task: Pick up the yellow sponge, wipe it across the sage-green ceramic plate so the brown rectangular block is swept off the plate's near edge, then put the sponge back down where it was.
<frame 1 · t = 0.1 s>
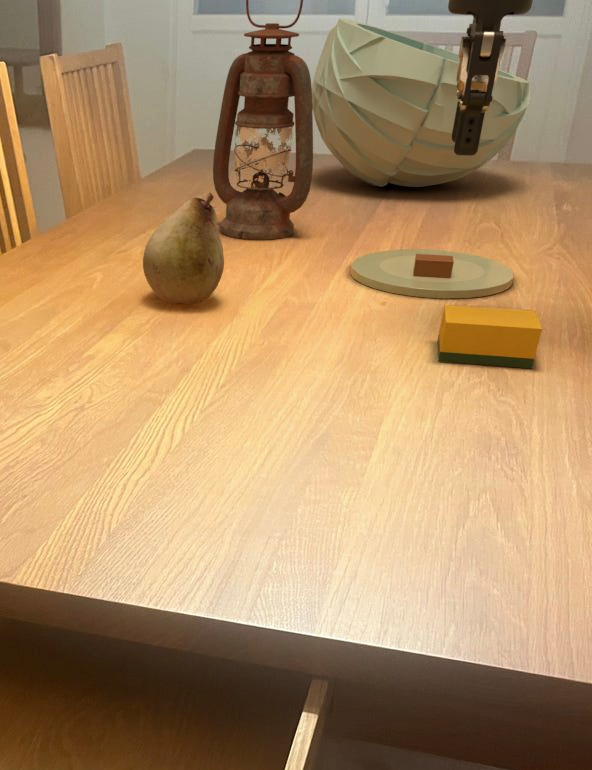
hand: (463, 148, 98), 18 cm above the table, tool pointing down, fingers open, 8 cm apart
sponge: (483, 355, 99), on the table
plate: (429, 276, 123), on the table
brown rectangular block: (431, 274, 120), point 1 cm above the table, touching plate
fruit: (181, 302, 115), on the table
bowl: (403, 186, 173), on the table
lantern: (256, 232, 144), on the table
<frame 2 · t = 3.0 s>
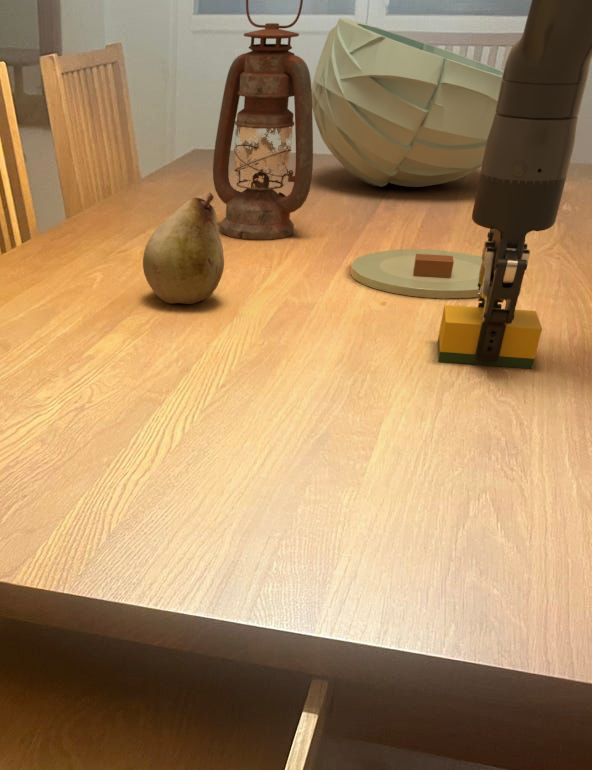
hand: (484, 349, 98), 1 cm above the table, tool pointing down, fingers closed on sponge, 6 cm apart
sponge: (483, 355, 99), on the table, touching gripper
everything else where it was.
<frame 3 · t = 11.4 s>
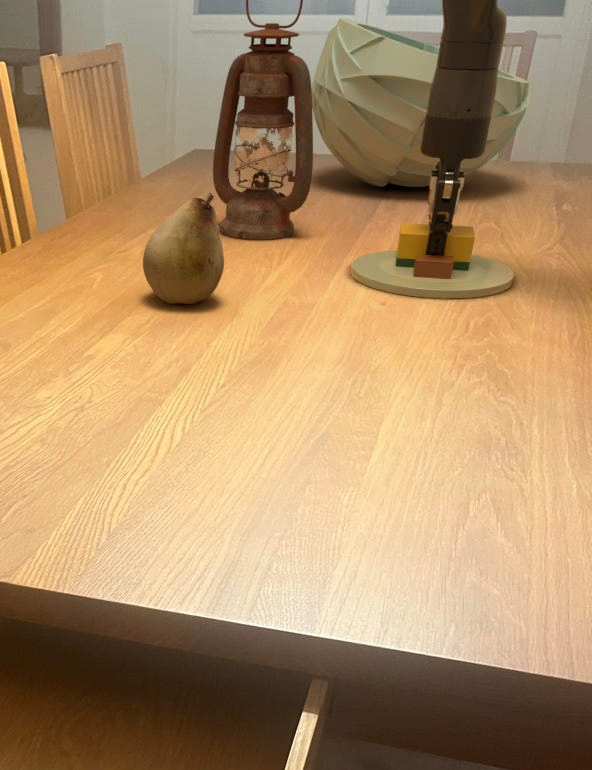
hand: (432, 257, 124), 2 cm above the table, tool pointing down, fingers closed on sponge, 6 cm apart
sponge: (431, 262, 125), point 1 cm above the table, touching gripper
brown rectangular block: (431, 274, 120), point 1 cm above the table, touching gripper, plate
everything else where it was.
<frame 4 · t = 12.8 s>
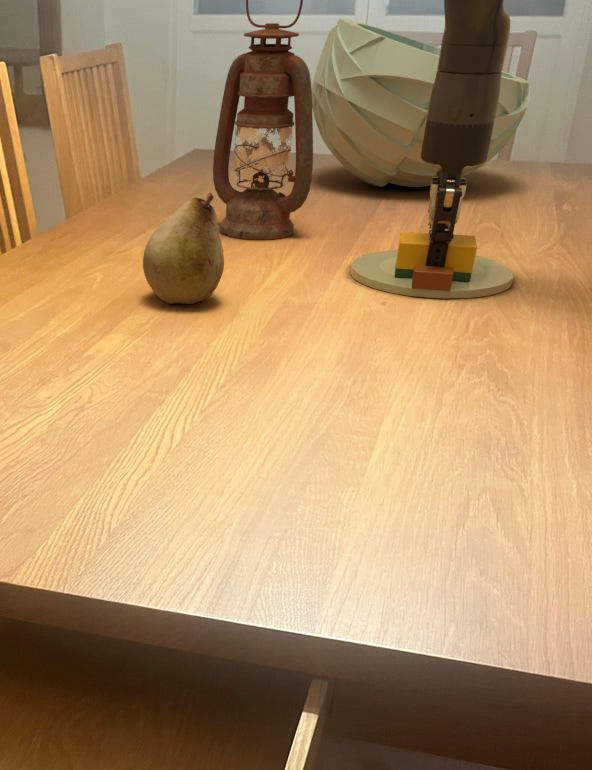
hand: (433, 267, 120), 2 cm above the table, tool pointing down, fingers closed on sponge, 6 cm apart
sponge: (431, 272, 120), point 1 cm above the table, touching gripper
brown rectangular block: (430, 286, 116), point 1 cm above the table, touching gripper
everything else where it was.
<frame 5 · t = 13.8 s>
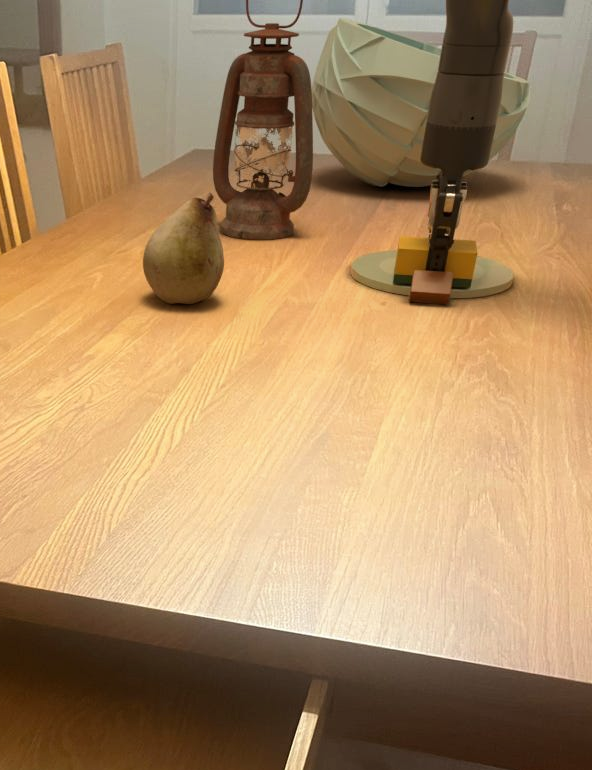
hand: (432, 273, 117), 2 cm above the table, tool pointing down, fingers closed on sponge, 6 cm apart
sponge: (431, 278, 118), point 1 cm above the table, touching gripper
brown rectangular block: (429, 292, 114), point 1 cm above the table, tilted 40°, touching gripper
everything else where it was.
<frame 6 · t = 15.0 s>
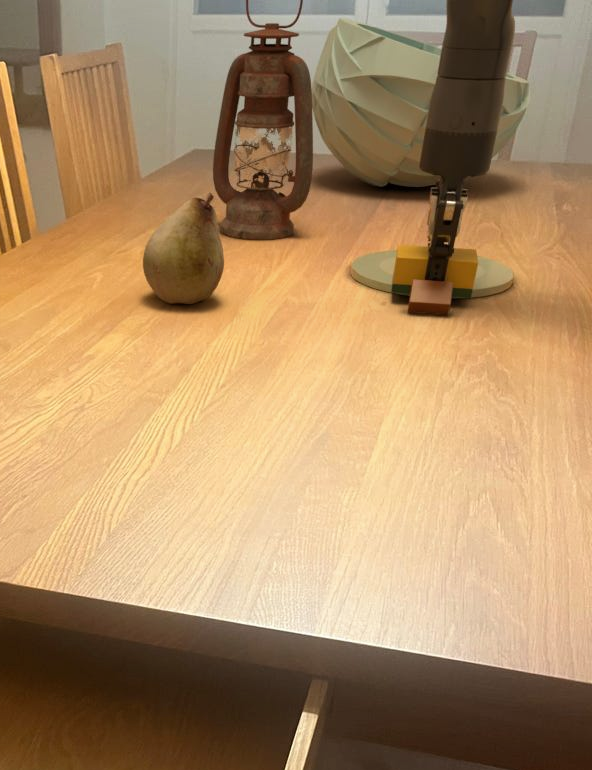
hand: (432, 282, 114), 2 cm above the table, tool pointing down, fingers closed on sponge, 6 cm apart
sponge: (430, 288, 114), point 1 cm above the table, touching gripper
brown rectangular block: (429, 302, 111), point 1 cm above the table, tilted 40°, touching gripper
everything else where it was.
when the fingers open (1 cm above the table, at t = 21.2 s): sponge stays where it is, on the table.
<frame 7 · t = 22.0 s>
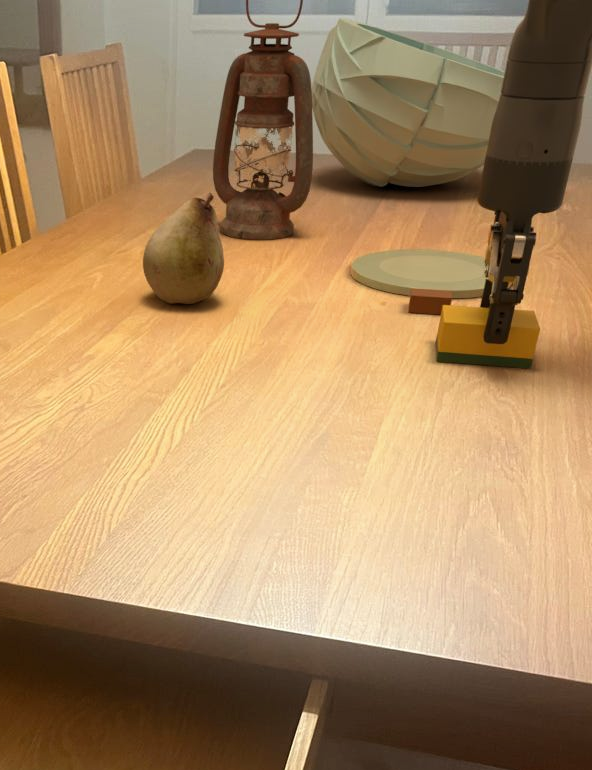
hand: (491, 329, 97), 3 cm above the table, tool pointing down, fingers open, 8 cm apart
sponge: (481, 355, 99), on the table
brown rectangular block: (428, 310, 111), on the table
everything else where it was.
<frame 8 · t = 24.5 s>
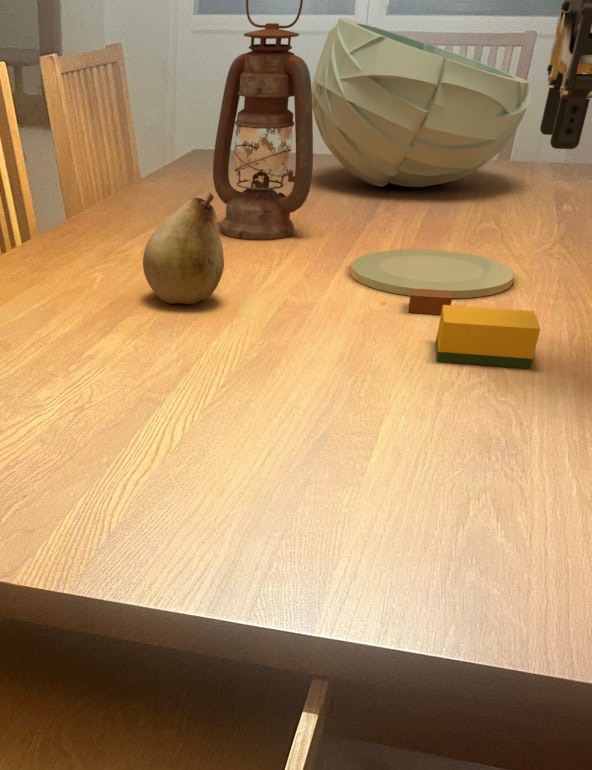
hand: (557, 140, 85), 20 cm above the table, tool pointing down, fingers open, 8 cm apart
nothing on the table moved.
at the end: brown rectangular block inside the target area (4.3 cm from its centre), on the table; brown rectangular block touching table; sponge inside the target area (0.2 cm from its centre), on the table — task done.
